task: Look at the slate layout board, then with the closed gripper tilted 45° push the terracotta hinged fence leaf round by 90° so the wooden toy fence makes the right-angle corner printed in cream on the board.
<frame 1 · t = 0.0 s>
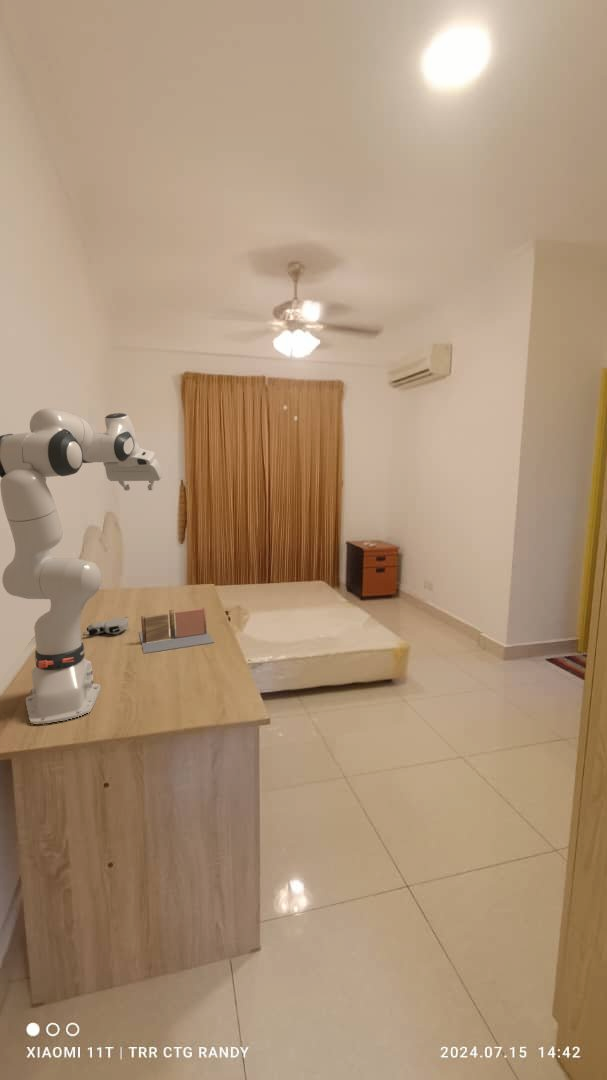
hand: (139, 489, 179), 54 cm above the table, tool tilted 30°, fingers open, 8 cm apart
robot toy: (108, 633, 183), on the table
fence fixed: (173, 639, 175), resting on layout board
layout board: (175, 637, 176), on the table
fence leaf: (191, 622, 177), point 5 cm above the table, hinge at 0.0°
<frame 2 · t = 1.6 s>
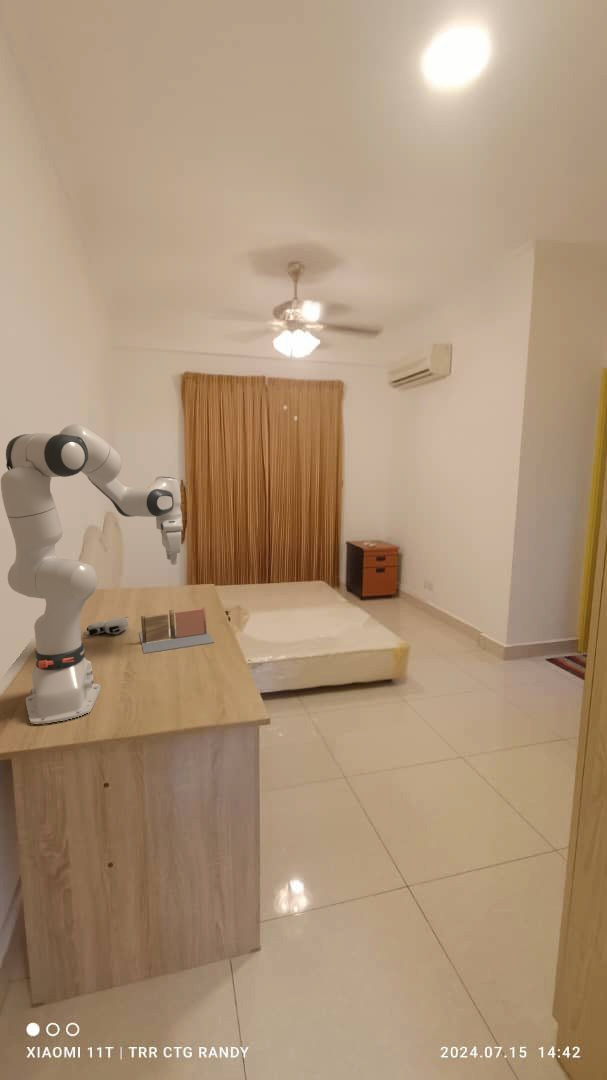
hand: (171, 561, 169), 29 cm above the table, tool pointing down, fingers open, 8 cm apart
nothing on the table moved.
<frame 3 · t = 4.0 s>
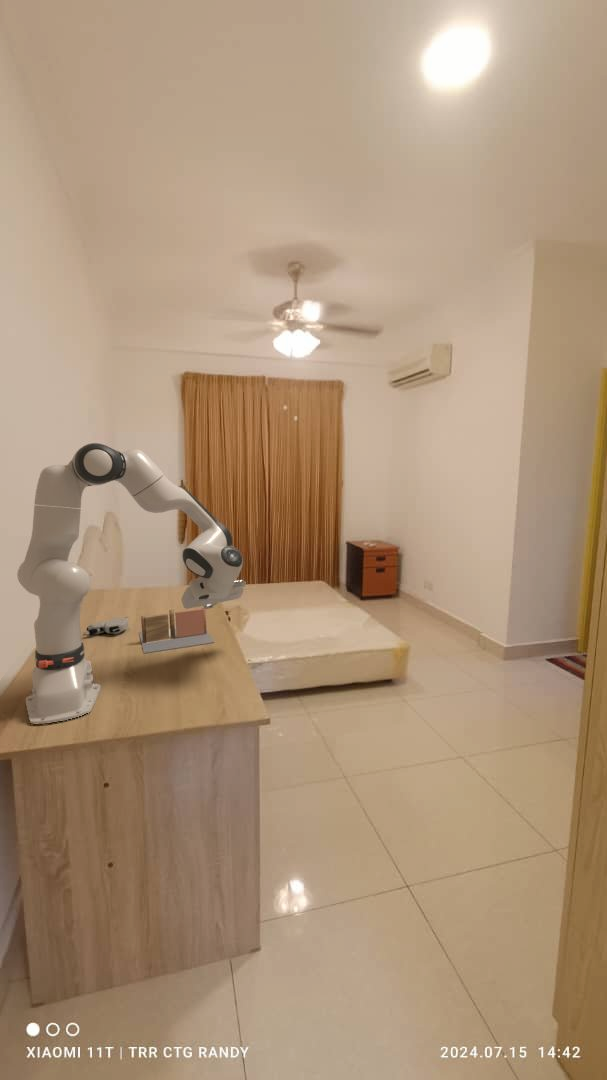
hand: (207, 606, 161), 16 cm above the table, tool tilted 45°, fingers closed
nothing on the table moved.
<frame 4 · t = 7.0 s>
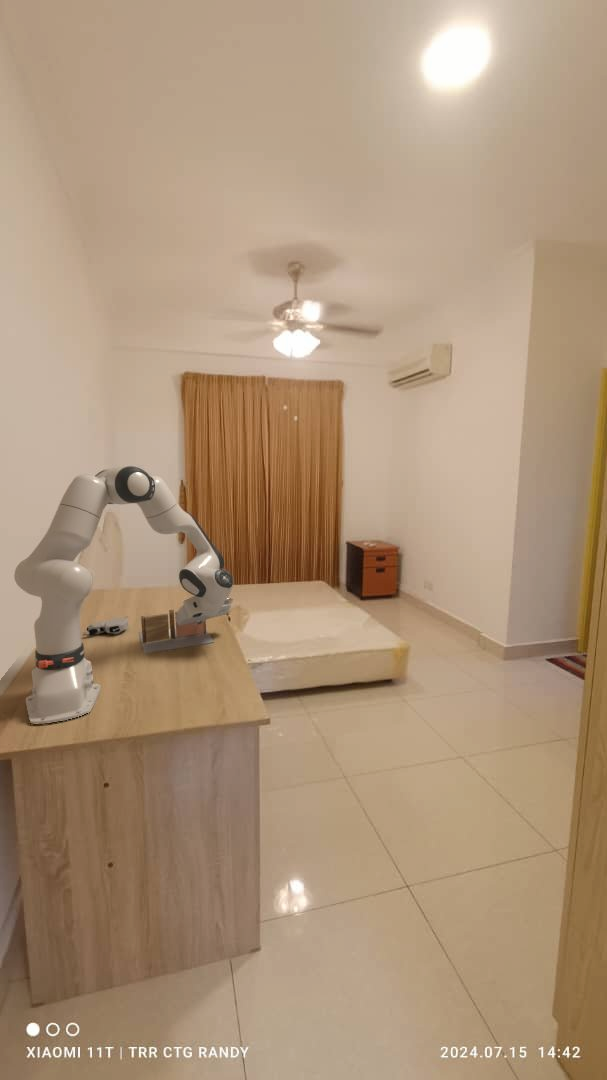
hand: (197, 623, 177), 5 cm above the table, tool tilted 45°, fingers closed
fence leaf: (191, 622, 177), point 5 cm above the table, hinge at 2.4°, touching gripper
everything else where it was.
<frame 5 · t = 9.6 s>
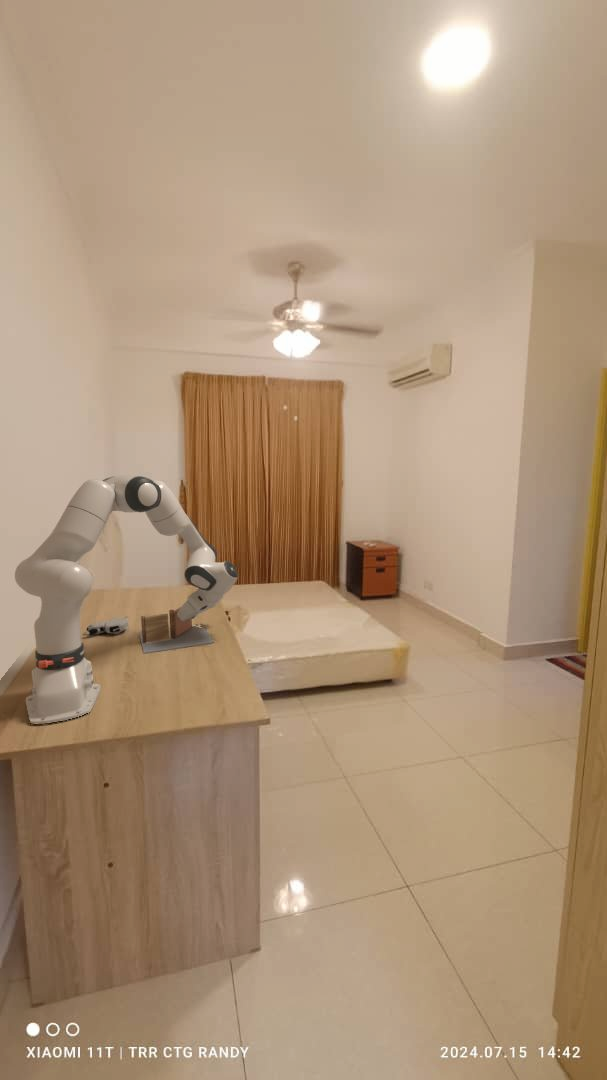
hand: (189, 618, 182), 5 cm above the table, tool tilted 45°, fingers closed
fence leaf: (182, 619, 181), point 5 cm above the table, hinge at 48.3°, touching gripper
everything else where it was.
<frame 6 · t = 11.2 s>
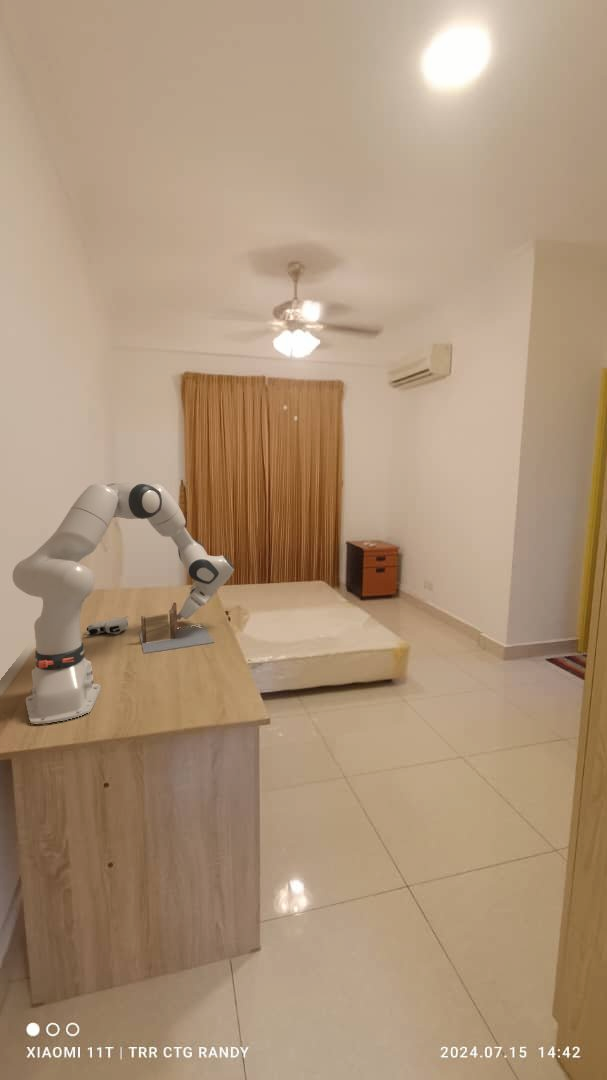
hand: (178, 617, 183), 5 cm above the table, tool tilted 45°, fingers closed, pressing on fence leaf
fence leaf: (174, 619, 181), point 5 cm above the table, hinge at 76.8°, touching gripper
everything else where it was.
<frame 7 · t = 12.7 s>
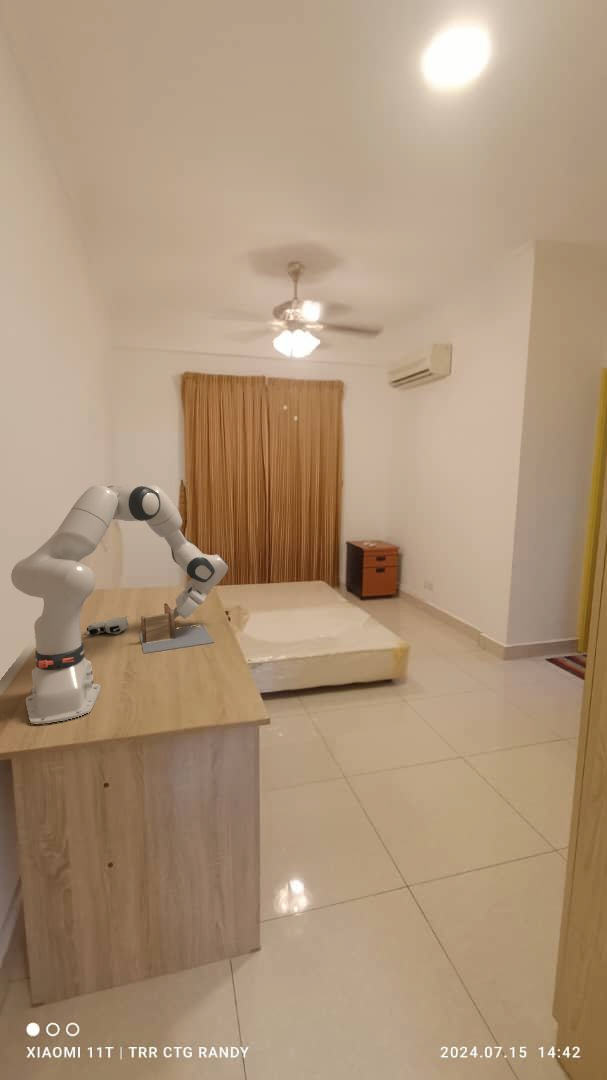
hand: (171, 618, 183), 5 cm above the table, tool tilted 45°, fingers closed
fence leaf: (168, 619, 180), point 5 cm above the table, hinge at 93.1°, touching gripper
everything else where it was.
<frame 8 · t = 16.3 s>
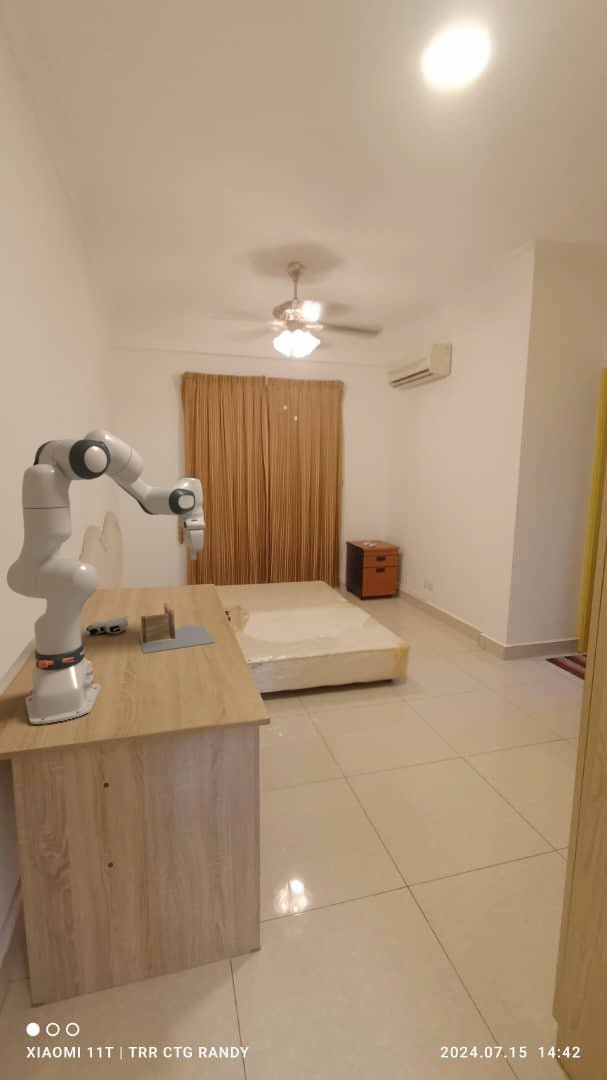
hand: (193, 559, 175), 29 cm above the table, tool pointing down, fingers closed
fence leaf: (168, 619, 180), point 5 cm above the table, hinge at 93.2°
everything else where it was.
at the end: fence leaf at +93° (first picture: +0°); the gripper is holding nothing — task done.
